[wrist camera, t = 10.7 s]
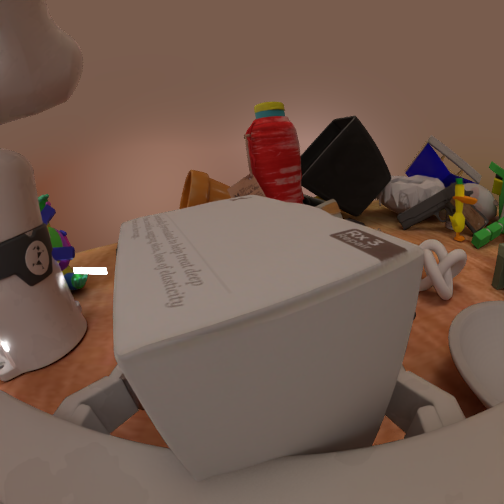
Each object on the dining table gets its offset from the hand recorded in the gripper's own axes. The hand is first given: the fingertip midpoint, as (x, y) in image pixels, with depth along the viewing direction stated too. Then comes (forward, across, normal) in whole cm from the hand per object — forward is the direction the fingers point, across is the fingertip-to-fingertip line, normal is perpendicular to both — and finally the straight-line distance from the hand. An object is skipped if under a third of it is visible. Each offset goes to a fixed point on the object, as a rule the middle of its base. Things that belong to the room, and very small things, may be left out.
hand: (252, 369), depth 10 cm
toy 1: (+48, -54, 0) cm, 72 cm away
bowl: (+60, -35, +9) cm, 70 cm away
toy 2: (+27, -41, +7) cm, 50 cm away
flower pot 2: (+60, -23, +3) cm, 64 cm away
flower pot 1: (+57, +8, +5) cm, 58 cm away
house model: (+65, -50, -3) cm, 82 cm away
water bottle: (+34, 0, +10) cm, 35 cm away
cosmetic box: (-1, 0, +9) cm, 9 cm away
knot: (+20, -20, +10) cm, 30 cm away
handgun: (+40, -38, +11) cm, 56 cm away
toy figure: (+38, -37, +9) cm, 53 cm away
